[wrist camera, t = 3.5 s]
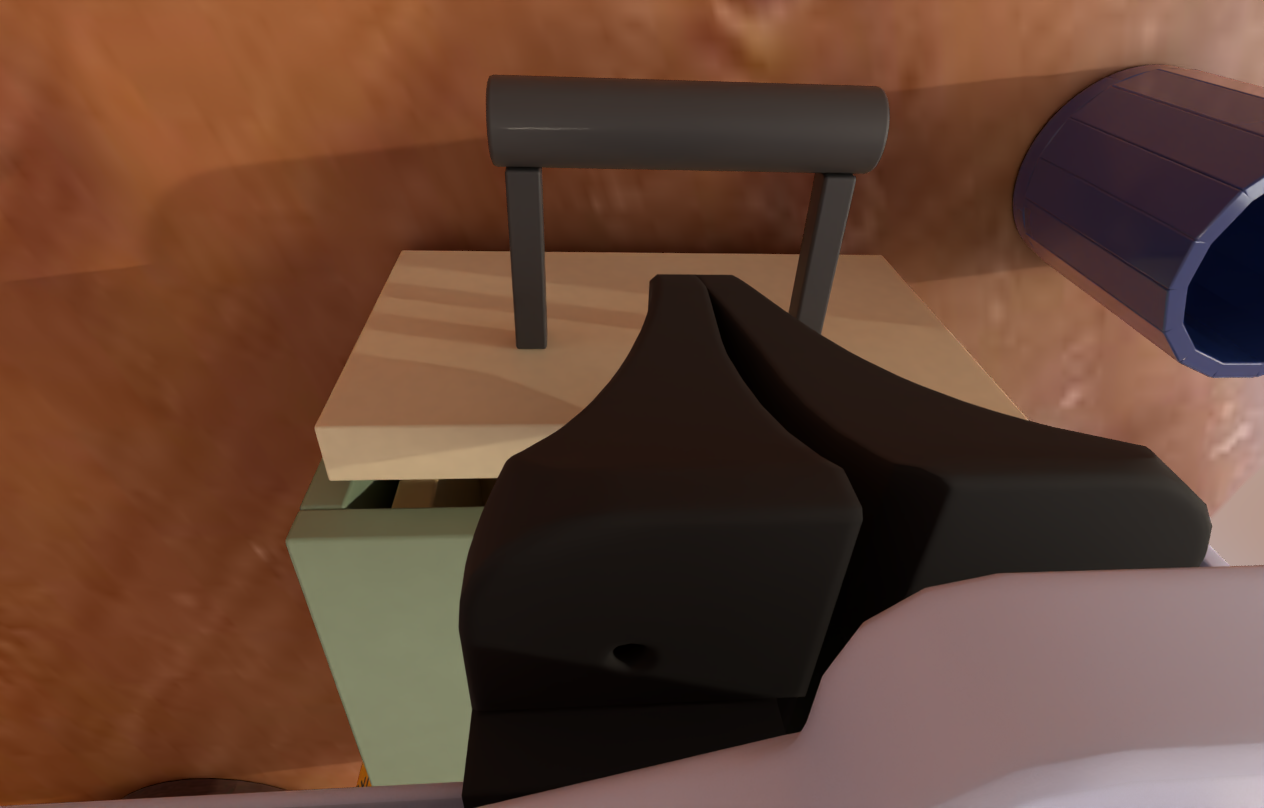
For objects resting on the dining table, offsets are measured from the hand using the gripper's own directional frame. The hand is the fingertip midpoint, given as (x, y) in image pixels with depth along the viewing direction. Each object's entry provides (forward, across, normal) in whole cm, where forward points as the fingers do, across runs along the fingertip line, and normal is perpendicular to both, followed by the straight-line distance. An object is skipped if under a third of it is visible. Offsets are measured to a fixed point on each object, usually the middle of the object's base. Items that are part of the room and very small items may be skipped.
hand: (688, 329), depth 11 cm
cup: (+8, -12, 0) cm, 14 cm away
